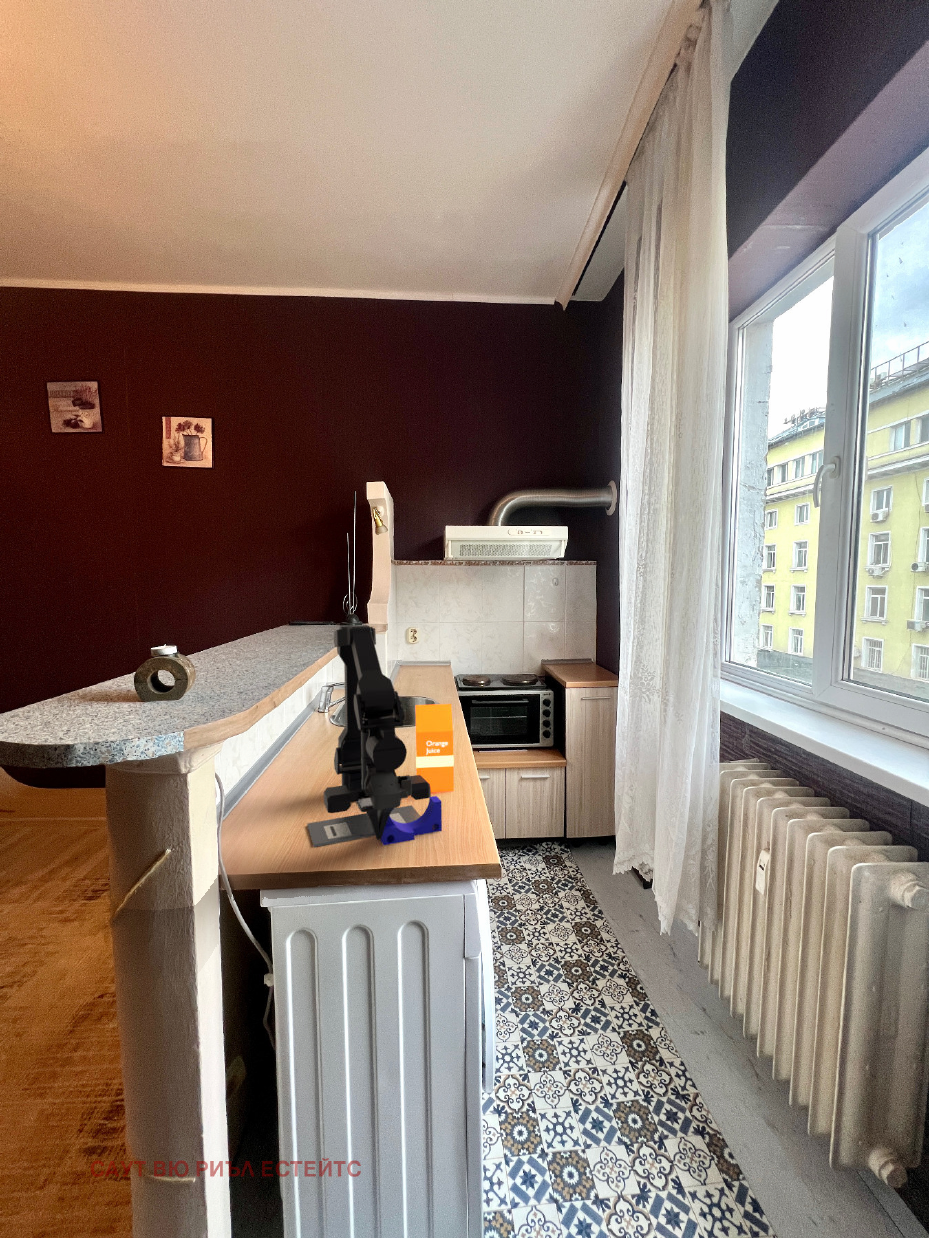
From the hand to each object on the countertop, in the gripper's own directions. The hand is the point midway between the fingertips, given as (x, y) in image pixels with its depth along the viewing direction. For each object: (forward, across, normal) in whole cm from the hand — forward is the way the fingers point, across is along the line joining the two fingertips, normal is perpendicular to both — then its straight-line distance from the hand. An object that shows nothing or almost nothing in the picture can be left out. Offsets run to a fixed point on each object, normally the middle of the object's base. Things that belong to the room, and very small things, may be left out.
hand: (378, 838), depth 97 cm
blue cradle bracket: (+2, +7, +3) cm, 8 cm away
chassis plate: (+2, 0, +10) cm, 10 cm away
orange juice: (+2, +20, +25) cm, 32 cm away
